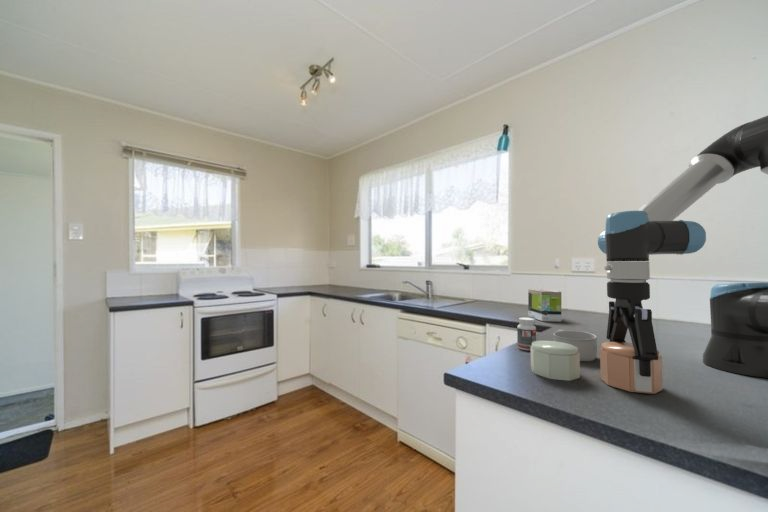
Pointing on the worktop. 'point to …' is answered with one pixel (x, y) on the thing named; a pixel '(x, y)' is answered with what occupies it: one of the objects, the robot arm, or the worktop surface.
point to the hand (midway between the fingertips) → (630, 381)
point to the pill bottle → (526, 333)
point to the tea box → (544, 305)
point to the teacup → (579, 342)
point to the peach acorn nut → (625, 367)
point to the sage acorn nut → (555, 360)
